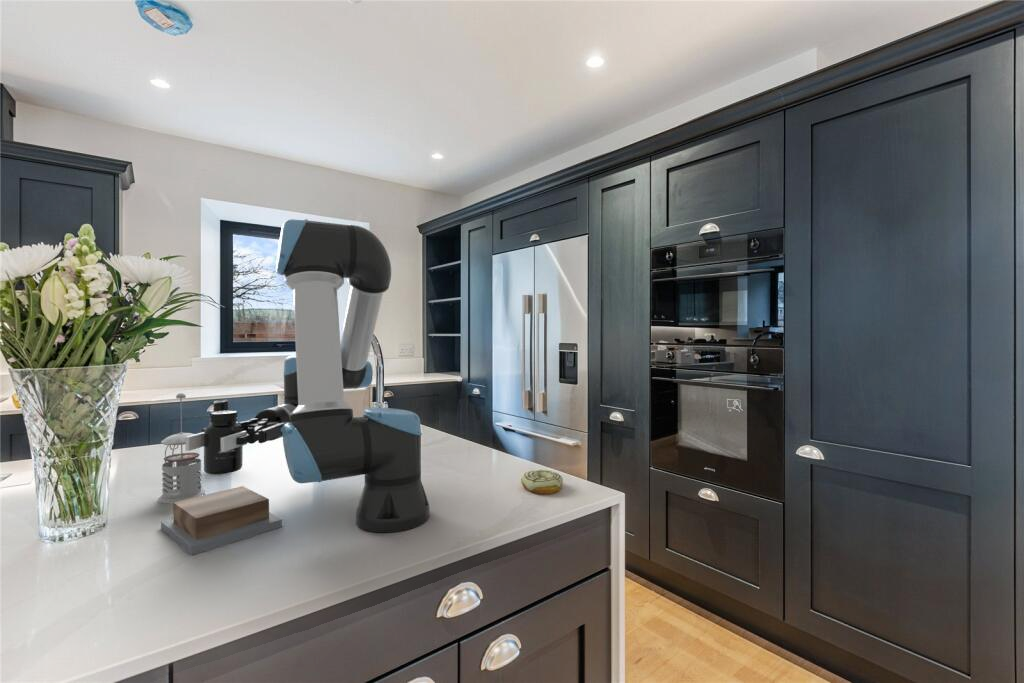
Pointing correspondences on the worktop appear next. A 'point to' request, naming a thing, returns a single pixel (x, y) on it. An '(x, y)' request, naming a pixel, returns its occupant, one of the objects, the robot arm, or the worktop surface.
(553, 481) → the decorated donut
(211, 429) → the supplement bottle
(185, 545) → the plate
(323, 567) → the worktop surface
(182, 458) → the french press
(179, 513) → the walnut pedestal
